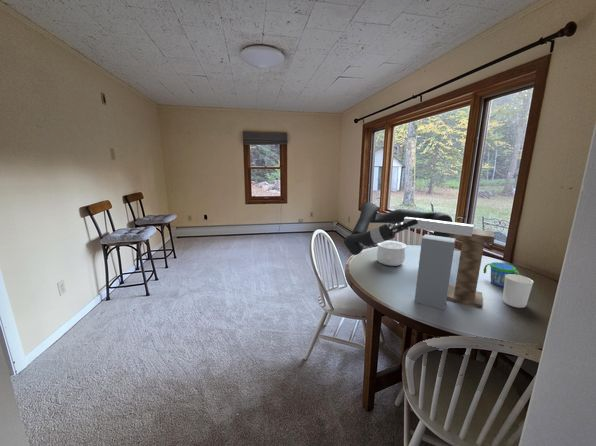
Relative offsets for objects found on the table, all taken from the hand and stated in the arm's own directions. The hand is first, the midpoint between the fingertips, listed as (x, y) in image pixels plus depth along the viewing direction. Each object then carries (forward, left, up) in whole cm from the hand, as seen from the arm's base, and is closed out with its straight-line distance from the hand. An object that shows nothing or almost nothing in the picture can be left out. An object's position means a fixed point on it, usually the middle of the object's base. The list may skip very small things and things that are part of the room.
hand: (417, 220), depth 116 cm
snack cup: (-54, +11, -37) cm, 67 cm away
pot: (-24, -36, -37) cm, 57 cm away
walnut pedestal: (-22, +11, -37) cm, 44 cm away
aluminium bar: (-4, +7, -3) cm, 8 cm away
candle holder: (-38, +25, -37) cm, 59 cm away
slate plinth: (-4, +8, -37) cm, 38 cm away
